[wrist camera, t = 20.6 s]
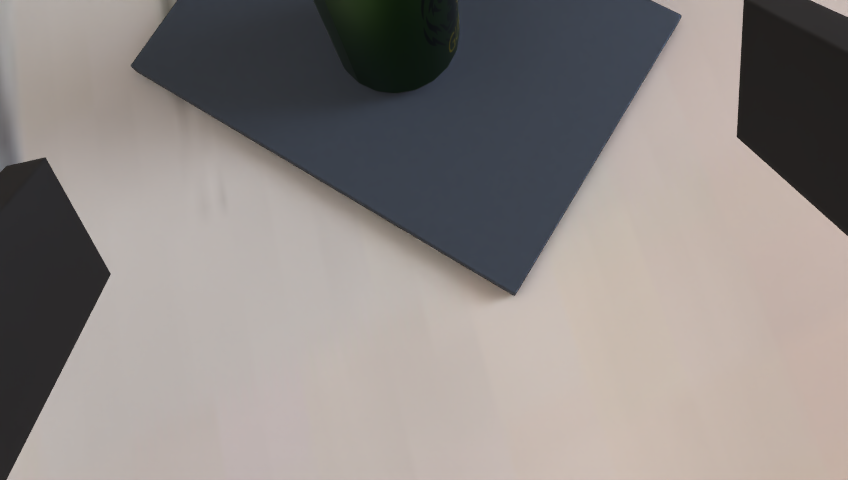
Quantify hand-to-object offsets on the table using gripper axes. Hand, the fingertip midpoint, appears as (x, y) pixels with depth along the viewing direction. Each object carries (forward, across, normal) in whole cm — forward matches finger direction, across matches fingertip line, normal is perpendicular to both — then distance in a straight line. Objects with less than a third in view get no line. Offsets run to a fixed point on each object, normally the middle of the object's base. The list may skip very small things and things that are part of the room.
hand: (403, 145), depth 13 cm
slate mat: (+19, 0, -4) cm, 19 cm away
